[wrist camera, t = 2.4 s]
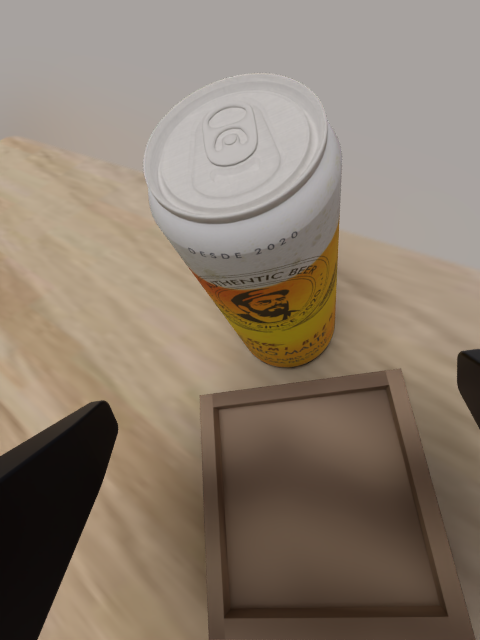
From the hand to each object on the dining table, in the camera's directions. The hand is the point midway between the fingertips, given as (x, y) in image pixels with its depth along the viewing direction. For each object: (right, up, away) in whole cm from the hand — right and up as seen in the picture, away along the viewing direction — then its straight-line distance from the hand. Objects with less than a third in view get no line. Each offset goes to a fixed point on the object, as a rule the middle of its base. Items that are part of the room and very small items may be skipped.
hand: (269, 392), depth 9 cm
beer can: (+2, +1, +14) cm, 15 cm away
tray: (+3, -8, +10) cm, 13 cm away
